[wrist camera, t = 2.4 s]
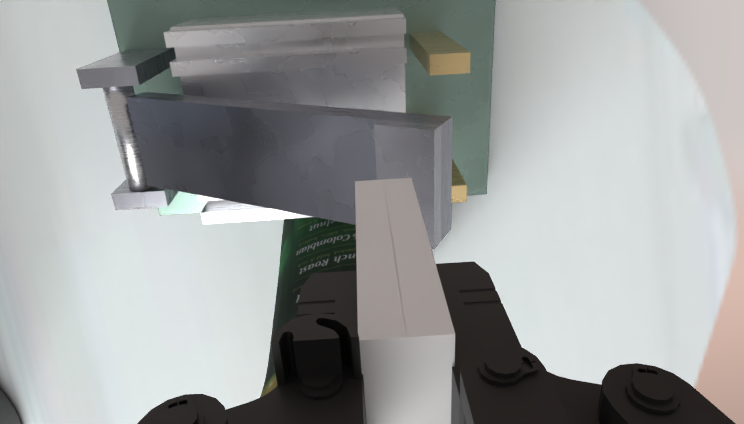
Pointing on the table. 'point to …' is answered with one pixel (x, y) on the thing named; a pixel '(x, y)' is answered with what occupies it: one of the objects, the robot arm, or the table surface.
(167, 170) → the grey rectangular bar
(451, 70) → the heatsink base
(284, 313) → the coffee jar
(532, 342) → the table surface
